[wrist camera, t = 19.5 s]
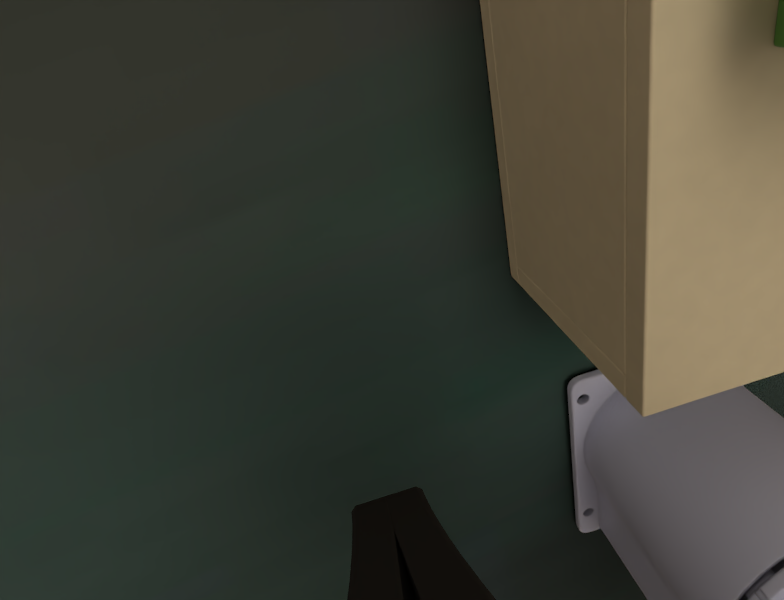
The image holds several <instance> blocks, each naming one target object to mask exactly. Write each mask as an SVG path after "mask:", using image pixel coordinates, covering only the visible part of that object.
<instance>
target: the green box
mask: <svg viewBox="0 0 784 600" xmlns="http://www.w3.org/2000/svg"><path fill="white" fill-rule="evenodd" d="M774 45H775V46H776V47H784V0H779V2H778V10H777V18H776V27H775V35H774Z"/></svg>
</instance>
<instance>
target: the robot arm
mask: <svg viewBox="0 0 784 600" xmlns="http://www.w3.org/2000/svg"><path fill="white" fill-rule="evenodd" d="M567 393H568V409H569V424H570V439H571V455H572V470H573V486H574V501H575V517H576V525H577V527H578V529H579V530H580V531H581V532H584V533H588V532H591V531H594V530H597V529H600V528H601V530H602V531H603V533H604V534H605V536H606V537H607V539H608V540H609V542H610V543H611V545H612V546H613V548H614V549H615V551H616V552H617V554H618V556H619V557H620V559H621V560H622V562H623V563H624V565H625V566H626V568H627V569H628V571H629V572H630V574H631V575H632V577H633V578H634V580H635V581H636V583H637V585H638V586H639V588H640V589H641V591H642V592H643V594H644V595H645V597H646V598H647V600H784V418H783V417H782V416H780V415H779V414H778V413H777V412H775V411H774V410H773V409H772V408H770V407H769V406H768V405H766V404H765V403H764V402H763V401H761V400H760V399H759V398H758V397H756V396H755V395H754V394H753V393H751V392H750V391H749V390H747V389H746V388H745V387H744V386H743V385H742V386H739V387H736V388H732V389H729V390H726V391H723V392H720V393H717V394H714V395H711V396H708V397H705V398H701V399H698V400H695V401H692V402H689V403H686V404H683V405H680V406H677V407H674V408H671V409H667V410H664V411H661V412H658V413H655V414H652V415H649V416H646V417H643V416H642V415H641V414H640V413H639V412H638V411H637V410H636V409H635V408H634V407H633V406H632V405H631V404H630V403H629V402H628V400H627V399H626V397H624V396H623V395H622V394H621V393H620V392H619V391H618V390H617V389H616V388H615V386H614V385H613V384H612V383H611V382H610V381H609V380H608V379H607V378H606V377H605V376H604V375H603V374H602V373H601V371H600V370H599V369H598V370H594V371H591V372H588V373H585V374H582V375H578V376H576V377H574V378H573V379H572V380H571V381H570V382H569V384H568V387H567ZM581 395H583V396H582V397H581V398H579V397H580V396H581ZM578 398H579V399H578ZM347 600H496V599H495V598H494V597H493V595H492V594H491V593H490V592H489V590H488V589H487V588H486V587H485V586H484V584H483V583H482V582H481V580H480V579H479V578H478V576H477V575H476V574H475V573H474V571H473V570H472V569H471V567H470V566H469V565H468V563H467V562H466V561H465V559H464V558H463V557H462V555H461V554H460V553H459V551H458V550H457V548H456V547H455V545H454V544H453V543H452V541H451V540H450V538H449V537H448V535H447V534H446V532H445V530H444V529H443V527H442V526H441V524H440V523H439V521H438V519H437V518H436V516H435V514H434V512H433V511H432V509H431V507H430V505H429V503H428V501H427V499H426V497H425V495H424V493H423V490H422V489H420V488H418V487H413V488H410V489H407V490H404V491H401V492H397V493H394V494H391V495H388V496H385V497H382V498H379V499H376V500H373V501H370V502H366V503H363V504H360V505H357V506H355V508H354V509H353V511H352V559H351V573H350V583H349V591H348V599H347Z"/></svg>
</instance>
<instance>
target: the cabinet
mask: <svg viewBox="0 0 784 600" xmlns="http://www.w3.org/2000/svg"><path fill="white" fill-rule="evenodd" d="M778 2H779V0H480V7H481V16H482V25H483V34H484V42H485V51H486V60H487V69H488V77H489V86H490V95H491V104H492V112H493V121H494V130H495V139H496V147H497V156H498V165H499V174H500V182H501V191H502V200H503V209H504V217H505V226H506V235H507V244H508V252H509V261H510V270H511V276H512V277H513V278H514V279H515V280H516V281H517V282H518V283H519V284H520V286H521V287H522V288H523V289H524V290H525V291H526V292H527V293H528V294H529V295H530V296H531V297H532V298H533V300H534V301H535V302H536V303H537V304H538V305H539V306H540V307H541V308H542V309H543V310H544V311H545V312H546V313H547V315H548V316H549V317H550V318H551V319H552V320H553V321H554V322H555V323H556V324H557V325H558V326H559V327H560V329H561V330H562V331H563V332H564V333H565V334H566V335H567V336H568V337H569V338H570V339H571V340H572V341H573V342H574V344H575V345H576V346H577V347H578V348H579V349H580V350H581V351H582V352H583V353H584V354H585V355H586V356H587V357H588V359H589V360H590V361H591V362H592V363H593V364H594V365H595V366H596V367H597V368H598V369H599V370H600V371H601V373H602V374H603V375H604V376H605V377H606V378H607V379H608V380H609V381H610V382H611V383H612V384H613V385H614V386H615V388H616V389H617V390H618V391H619V392H620V393H621V394H622V395H623V396H624V397H626V399H627V400H628V402H629V403H630V404H631V405H632V406H633V407H634V408H635V409H636V410H637V411H638V412H639V413H640V414H641V415H642V416H643V417H646V416H649V415H652V414H655V413H658V412H661V411H664V410H667V409H671V408H674V407H677V406H680V405H683V404H686V403H689V402H692V401H695V400H698V399H701V398H705V397H708V396H711V395H714V394H717V393H720V392H723V391H726V390H729V389H732V388H736V387H739V386H742V385H745V384H748V383H751V382H754V381H757V380H760V379H763V378H767V377H770V376H773V375H776V374H779V373H782V372H784V47H776V46H775V45H774V35H775V27H776V18H777V10H778Z"/></svg>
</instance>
